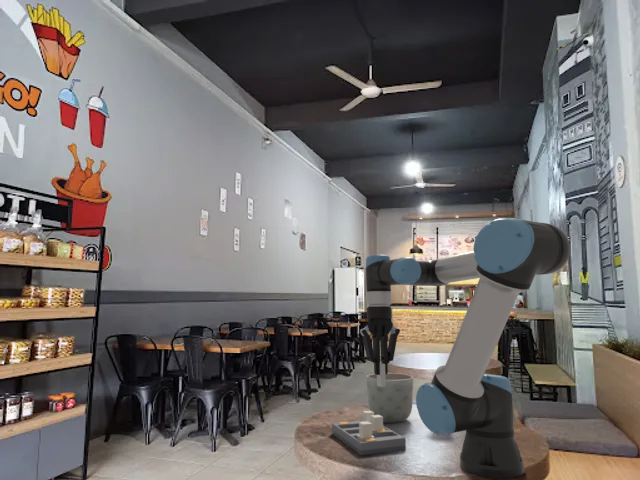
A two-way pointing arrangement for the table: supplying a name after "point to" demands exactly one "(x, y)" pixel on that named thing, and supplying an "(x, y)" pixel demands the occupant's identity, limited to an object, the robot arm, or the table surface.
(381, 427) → the tab
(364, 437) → the tab
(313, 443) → the table surface
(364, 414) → the tab
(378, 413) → the concrete flower pot
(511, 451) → the robot arm
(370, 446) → the switch bank
